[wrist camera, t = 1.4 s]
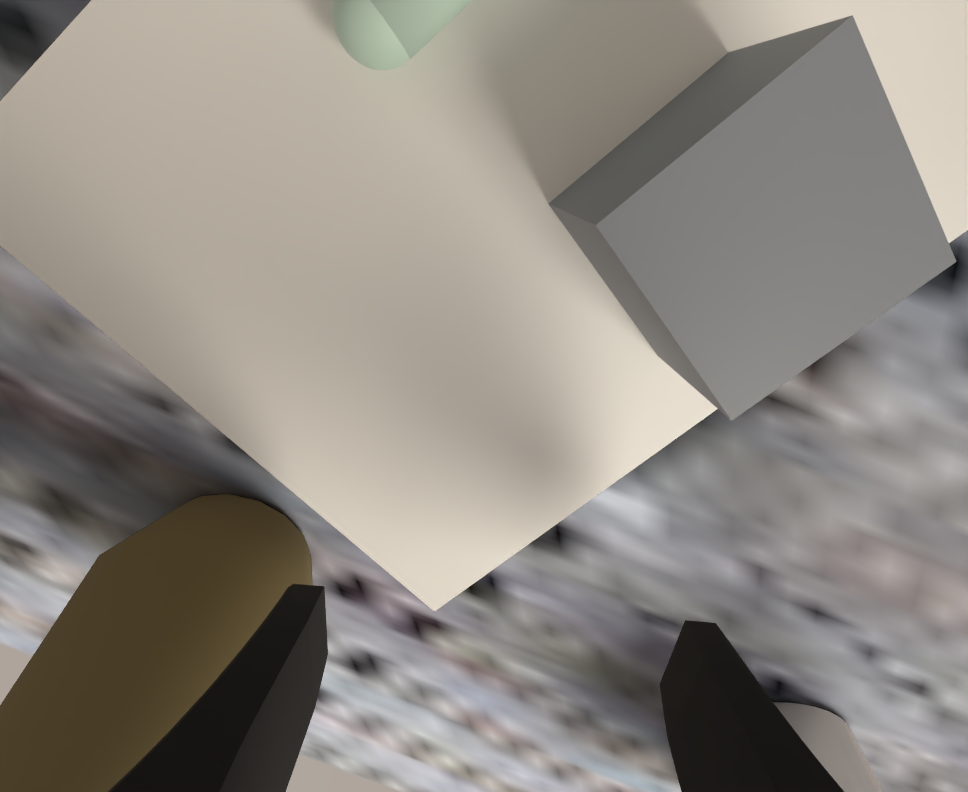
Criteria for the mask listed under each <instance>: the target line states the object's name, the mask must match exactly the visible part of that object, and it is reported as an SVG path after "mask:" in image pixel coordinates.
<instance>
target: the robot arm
mask: <svg viewBox="0 0 968 792" xmlns="http://www.w3.org/2000/svg"><path fill="white" fill-rule="evenodd" d="M327 655H328V648H327V629H326V610H325V591H324V586H313V585H303V584H292V585H291V586H289V587H288V588H287V589H286V591H285V592H284V594H283V595H282V597H281V598H280V599H279V601H278V602H277V604H276V605H275V606H274V608H273V609H272V610H271V612H270V613H269V614H268V616H267V617H266V618H265V620H264V621H263V622H262V624H261V625H260V626H259V628H258V629H257V630H256V631H255V633H254V634H253V635H252V637H251V638H250V639H249V640H248V642H247V643H246V644H245V645H244V647H243V648H242V649H241V650H240V652H239V653H238V654H237V655H236V656H235V657H234V659H233V660H232V661H231V662H230V663H229V665H228V666H227V667H226V668H225V669H224V671H223V672H222V673H221V674H220V675H219V677H218V678H217V679H216V680H215V681H214V683H213V684H212V685H211V686H210V687H209V688H208V689H207V691H206V692H205V693H204V694H203V695H202V696H201V697H200V698H199V699H198V700H197V701H196V703H195V704H194V705H193V706H192V707H191V708H190V709H189V710H188V711H187V712H186V714H185V715H184V716H183V717H182V718H181V719H180V720H179V721H178V722H177V723H176V724H175V726H174V727H173V728H172V729H171V730H170V731H169V732H168V733H167V734H166V735H165V736H164V737H163V738H162V739H161V740H160V741H159V742H158V743H157V744H156V745H155V746H154V747H153V748H152V749H151V750H150V751H149V752H148V753H147V754H146V755H145V756H144V757H143V758H142V759H141V760H140V761H139V762H138V763H137V764H136V765H135V766H134V767H133V768H132V769H131V770H130V771H129V772H128V773H127V774H126V775H125V776H124V777H123V778H122V779H121V780H120V781H119V782H118V783H116V784H115V785H114V786H113V787H112V788H111V789H110V790H109V791H108V792H286V789H287V786H288V783H289V780H290V777H291V775H292V771H293V769H294V766H295V763H296V760H297V758H298V755H299V752H300V749H301V746H302V743H303V740H304V738H305V735H306V732H307V729H308V726H309V723H310V720H311V717H312V715H313V712H314V709H315V705H316V701H317V697H318V693H319V689H320V685H321V681H322V677H323V672H324V668H325V664H326V660H327ZM660 689H661V697H662V704H663V711H664V717H665V724H666V730H667V736H668V741H669V745H670V749H671V753H672V757H673V760H674V764H675V768H676V772H677V776H678V780H679V783H680V787H681V791H682V792H844V791H843V789H842V788H841V787H840V786H839V785H838V783H837V782H836V781H835V780H834V779H833V777H832V776H831V775H830V774H829V773H828V771H827V770H826V769H825V768H824V767H823V765H822V764H821V763H820V762H819V761H818V759H817V758H816V757H815V756H814V754H813V753H812V752H811V751H810V749H809V748H808V747H807V746H806V744H805V743H804V742H803V740H802V739H801V738H800V737H799V735H798V734H797V733H796V731H795V730H794V729H793V727H792V726H791V725H790V724H789V722H788V721H787V720H786V718H785V717H784V716H783V715H782V713H781V712H780V711H779V709H778V708H777V707H776V705H775V704H774V703H773V701H772V700H771V699H770V697H769V696H768V695H767V693H766V692H765V691H764V689H763V688H762V686H761V685H760V684H759V682H758V681H757V680H756V678H755V677H754V675H753V674H752V673H751V671H750V670H749V669H748V667H747V666H746V664H745V663H744V662H743V660H742V659H741V657H740V656H739V655H738V653H737V652H736V651H735V649H734V648H733V646H732V645H731V644H730V642H729V641H728V639H727V638H726V637H725V635H724V634H723V632H722V631H721V630H720V628H719V627H718V626H717V624H716V623H708V622H698V621H687V620H685V622H684V625H683V627H682V630H681V632H680V635H679V637H678V640H677V642H676V645H675V647H674V650H673V652H672V655H671V657H670V660H669V662H668V665H667V667H666V670H665V672H664V675H663V677H662V680H661V682H660Z"/></svg>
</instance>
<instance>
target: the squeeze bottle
mask: <svg viewBox="0 0 968 792" xmlns="http://www.w3.org/2000/svg"><path fill="white" fill-rule="evenodd" d="M292 584H303V585H312V560H311V554H310V552H309V549H308V546H307V543H306V540H305V538H304V535H303V534H302V533H301V532H300V531H299V530H298V529H297V528H296V527H295V526H294V525H293V523H292V522H291V521H290V520H289V519H288V518H287V517H286V516H285V515H283V514H281V513H279V512H278V511H276V510H274V509H272V508H270V507H269V506H267V505H265V504H263V503H261V502H260V501H256V500H252V499H248V498H243V497H239V496H235V495H230V494H223V495H210V496H200V497H197V498H195V499H193V500H191V501H189V502H187V503H185V504H183V505H181V506H179V507H177V508H176V509H174V510H172V511H171V512H169V513H168V514H166V515H164V516H163V517H161V518H159V519H158V520H156V521H155V522H153V523H151V524H150V525H148V526H146V527H145V528H143V529H142V530H140V531H138V532H137V533H135V534H133V535H132V536H130V537H128V538H127V539H125V540H124V541H122V542H120V543H119V544H117V545H115V546H114V547H112V548H111V549H109V550H107V551H106V552H104V553H102V554H101V555H99V557H98V558H97V560H96V561H95V563H94V564H93V566H92V567H91V569H90V570H89V572H88V573H87V575H86V576H85V578H84V579H83V581H82V582H81V584H80V585H79V587H78V588H77V590H76V591H75V593H74V594H73V596H72V597H71V599H70V601H69V602H68V604H67V605H66V607H65V608H64V610H63V611H62V613H61V614H60V616H59V617H58V619H57V620H56V622H55V623H54V625H53V626H52V628H51V629H50V631H49V632H48V634H47V635H46V637H45V638H44V640H43V641H42V643H41V644H40V646H39V648H38V649H37V651H36V652H35V654H34V655H33V657H32V658H31V660H30V661H29V663H28V664H27V666H26V667H25V669H24V670H23V672H22V673H21V675H20V676H19V678H18V679H17V681H16V682H15V684H14V685H13V687H12V689H11V690H10V692H9V693H8V695H7V696H6V698H5V699H4V701H3V702H2V704H1V705H0V792H108V791H109V790H110V789H111V788H112V787H113V786H114V785H115V784H116V783H118V782H119V781H120V780H121V779H122V778H123V777H124V776H125V775H126V774H127V773H128V772H129V771H130V770H131V769H132V768H133V767H134V766H135V765H136V764H137V763H138V762H139V761H140V760H141V759H142V758H143V757H144V756H145V755H146V754H147V753H148V752H149V751H150V750H151V749H152V748H153V747H154V746H155V745H156V744H157V743H158V742H159V741H160V740H161V739H162V738H163V737H164V736H165V735H166V734H167V733H168V732H169V731H170V730H171V729H172V728H173V727H174V726H175V724H176V723H177V722H178V721H179V720H180V719H181V718H182V717H183V716H184V715H185V714H186V712H187V711H188V710H189V709H190V708H191V707H192V706H193V705H194V704H195V703H196V701H197V700H198V699H199V698H200V697H201V696H202V695H203V694H204V693H205V692H206V691H207V689H208V688H209V687H210V686H211V685H212V684H213V683H214V681H215V680H216V679H217V678H218V677H219V675H220V674H221V673H222V672H223V671H224V669H225V668H226V667H227V666H228V665H229V663H230V662H231V661H232V660H233V659H234V657H235V656H236V655H237V654H238V653H239V652H240V650H241V649H242V648H243V647H244V645H245V644H246V643H247V642H248V640H249V639H250V638H251V637H252V635H253V634H254V633H255V631H256V630H257V629H258V628H259V626H260V625H261V624H262V622H263V621H264V620H265V618H266V617H267V616H268V614H269V613H270V612H271V610H272V609H273V608H274V606H275V605H276V604H277V602H278V601H279V599H280V598H281V597H282V595H283V594H284V592H285V591H286V589H287V588H288V587H289V586H291V585H292Z"/></svg>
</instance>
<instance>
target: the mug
mask: <svg viewBox="0 0 968 792" xmlns="http://www.w3.org/2000/svg"><path fill="white" fill-rule="evenodd" d="M773 703H774V704H775V705H776V707H777V708H778V709H779V711H780V712H781V713H782V715H783V716H784V717H785V718H786V720H787V721H788V722H789V724H790V725H791V726H792V727H793V729H794V730H795V731H796V733H797V734H798V735H799V737H800V738H801V739H802V740H803V742H804V743H805V744H806V746H807V747H808V748H809V749H810V751H811V752H812V753H813V754H814V756H815V757H816V758H817V759H818V761H819V762H820V763H821V764H822V765H823V767H824V768H825V769H826V770H827V771H828V773H829V774H830V775H831V776H832V777H833V779H834V780H835V781H836V782H837V783H838V785H839V786H840V787H841V788H842V789H843V791H844V792H883V790H882V788H881V786H880V784H879V782H878V780H877V778H876V776H875V774H874V772H873V770H872V768H871V766H870V765H869V763H868V761H867V759H866V757H865V755H864V753H863V751H862V749H861V747H860V745H859V743H858V741H857V739H856V738H855V736H854V734H853V732H852V730H851V729H850V727H849V725H848V724H847V723H846V722H844V721H843V720H842V719H841V718H840V717H838V716H836V715H835V714H833V713H831V712H829V711H826V710H823V709H820V708H817V707H814V706H809V705H803V704H797V703H788V702H773Z"/></svg>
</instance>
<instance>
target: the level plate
mask: <svg viewBox="0 0 968 792" xmlns="http://www.w3.org/2000/svg"><path fill="white" fill-rule="evenodd" d="M967 230H968V0H91V1H90V2H89V3H88V5H87V6H86V7H85V8H84V9H83V10H82V11H81V12H80V13H79V15H78V16H77V17H76V18H75V19H74V20H73V21H72V22H71V23H70V25H69V26H68V27H67V28H66V29H65V30H64V31H63V32H62V33H61V35H60V36H59V37H58V38H57V39H56V40H55V41H54V42H53V43H52V44H51V46H50V47H49V48H48V49H47V50H46V51H45V52H44V53H43V54H42V56H41V57H40V58H39V59H38V60H37V61H36V62H35V63H34V64H33V66H32V67H31V68H30V69H29V70H28V71H27V72H26V73H25V74H24V76H23V77H22V78H21V79H20V80H19V81H18V82H17V83H16V84H15V86H14V87H13V88H12V89H11V90H10V91H9V92H8V93H7V94H6V96H5V97H4V98H3V99H2V100H1V101H0V246H1V247H2V248H4V249H5V250H6V251H7V252H8V253H10V254H11V255H12V256H13V257H14V258H16V259H17V260H18V261H19V262H20V263H21V264H23V265H24V266H25V267H26V268H27V269H29V270H30V271H31V272H32V273H33V274H35V275H36V276H37V277H38V278H39V279H40V280H42V281H43V282H44V283H45V284H46V285H48V286H49V287H50V288H51V289H52V290H54V291H55V292H56V293H57V294H58V295H59V296H61V297H62V298H63V299H64V300H65V301H67V302H68V303H69V304H70V305H71V306H73V307H74V308H75V309H76V310H77V311H78V312H80V313H81V314H82V315H83V316H84V317H86V318H87V319H88V320H89V321H90V322H92V323H93V324H94V325H95V326H96V327H97V328H99V329H100V330H101V331H102V332H103V333H105V334H106V335H107V336H108V337H109V338H111V339H112V340H113V341H114V342H115V343H116V344H118V345H119V346H120V347H121V348H122V349H124V350H125V351H126V352H127V353H128V354H130V355H131V356H132V357H133V358H134V359H135V360H137V361H138V362H139V363H140V364H141V365H143V366H144V367H145V368H146V369H147V370H148V371H150V372H151V373H152V374H153V375H154V376H156V377H157V378H158V379H159V380H160V381H162V382H163V383H164V384H165V385H166V386H167V387H169V388H170V389H171V390H172V391H173V392H175V393H176V394H177V395H178V396H179V397H181V398H182V399H183V400H184V401H185V402H186V403H188V404H189V405H190V406H191V407H192V408H194V409H195V410H196V411H197V412H198V413H200V414H201V415H202V416H203V417H204V418H205V419H207V420H208V421H209V422H210V423H211V424H213V425H214V426H215V427H216V428H217V429H219V430H220V431H221V432H222V433H223V434H224V435H226V436H227V437H228V438H229V439H230V440H232V441H233V442H234V443H235V444H236V445H238V446H239V447H240V448H241V449H242V450H243V451H245V452H246V453H247V454H248V455H249V456H251V457H252V458H253V459H254V460H255V461H257V462H258V463H259V464H260V465H261V466H262V467H264V468H265V469H266V470H267V471H268V472H270V473H271V474H272V475H273V476H274V477H276V478H277V479H278V480H279V481H280V482H281V483H283V484H284V485H285V486H286V487H287V488H289V489H290V490H291V491H292V492H293V493H294V494H296V495H297V496H298V497H299V498H300V499H302V500H303V501H304V502H305V503H306V504H308V505H309V506H310V507H311V508H312V509H313V510H315V511H316V512H317V513H318V514H319V515H321V516H322V517H323V518H324V519H325V520H327V521H328V522H329V523H330V524H331V525H332V526H334V527H335V528H336V529H337V530H338V531H340V532H341V533H342V534H343V535H344V536H346V537H347V538H348V539H349V540H350V541H351V542H353V543H354V544H355V545H356V546H357V547H359V548H360V549H361V550H362V551H363V552H365V553H366V554H367V555H368V556H369V557H370V558H372V559H373V560H374V561H375V562H376V563H378V564H379V565H380V566H381V567H382V568H384V569H385V570H386V571H387V572H388V573H389V574H391V575H392V576H393V577H394V578H395V579H397V580H398V581H399V582H400V583H401V584H403V585H404V586H405V587H406V588H407V589H408V590H410V591H411V592H412V593H413V594H414V595H416V596H417V597H418V598H419V599H420V600H422V601H423V602H424V603H425V604H426V605H427V606H429V607H430V608H431V609H432V610H433V611H436V610H437V609H439V608H440V607H441V606H443V605H444V604H446V603H447V602H448V601H450V600H451V599H453V598H454V597H455V596H457V595H458V594H460V593H461V592H462V591H464V590H465V589H467V588H468V587H469V586H471V585H472V584H474V583H475V582H476V581H478V580H479V579H480V578H482V577H483V576H485V575H486V574H487V573H489V572H490V571H492V570H493V569H494V568H496V567H497V566H499V565H500V564H501V563H503V562H504V561H506V560H507V559H508V558H510V557H511V556H513V555H514V554H515V553H517V552H518V551H520V550H521V549H522V548H524V547H525V546H527V545H528V544H529V543H531V542H532V541H534V540H535V539H536V538H538V537H539V536H541V535H542V534H543V533H545V532H546V531H548V530H549V529H550V528H552V527H553V526H555V525H556V524H557V523H559V522H560V521H562V520H563V519H564V518H566V517H567V516H569V515H570V514H571V513H573V512H574V511H575V510H577V509H578V508H580V507H581V506H582V505H584V504H585V503H587V502H588V501H589V500H591V499H592V498H594V497H595V496H596V495H598V494H599V493H601V492H602V491H603V490H605V489H606V488H608V487H609V486H610V485H612V484H613V483H615V482H616V481H617V480H619V479H620V478H622V477H623V476H624V475H626V474H627V473H629V472H630V471H631V470H633V469H634V468H636V467H637V466H638V465H640V464H641V463H643V462H644V461H645V460H647V459H648V458H650V457H651V456H652V455H654V454H655V453H657V452H658V451H659V450H661V449H662V448H664V447H665V446H666V445H668V444H669V443H670V442H672V441H673V440H675V439H676V438H677V437H679V436H680V435H682V434H683V433H684V432H686V431H687V430H689V429H690V428H691V427H693V426H694V425H696V424H697V423H698V422H700V421H701V420H703V419H704V418H705V417H707V416H708V415H710V414H711V413H712V412H714V411H715V410H717V409H719V410H720V411H721V412H722V413H723V414H724V415H726V416H727V417H728V418H729V419H730V420H731V421H732V420H733V419H735V418H736V417H738V416H739V415H740V414H742V413H743V412H745V411H746V410H747V409H749V408H750V407H752V406H753V405H755V404H756V403H757V402H759V401H760V400H762V399H763V398H764V397H766V396H767V395H769V394H770V393H771V392H773V391H774V390H776V389H777V388H779V387H780V386H781V385H783V384H784V383H786V382H787V381H788V380H790V379H791V378H793V377H794V376H795V375H797V374H798V373H800V372H801V371H803V370H804V369H805V368H807V367H808V366H810V365H811V364H812V363H814V362H815V361H817V360H818V359H819V358H821V357H822V356H824V355H825V354H827V353H828V352H829V351H831V350H832V349H834V348H835V347H836V346H838V345H839V344H841V343H842V342H844V341H845V340H846V339H848V338H849V337H851V336H852V335H853V334H855V333H856V332H858V331H859V330H860V329H862V328H863V327H865V326H866V325H868V324H869V323H870V322H872V321H873V320H875V319H876V318H877V317H879V316H880V315H882V314H883V313H884V312H886V311H887V310H889V309H890V308H892V307H893V306H894V305H896V304H897V303H899V302H900V301H901V300H903V299H904V298H906V297H907V296H908V295H910V294H911V293H913V292H914V291H916V290H917V289H918V288H920V287H921V286H923V285H924V284H925V283H927V282H928V281H930V280H931V279H932V278H934V277H935V276H937V275H938V274H940V273H941V272H942V271H944V270H945V269H947V268H948V267H949V266H951V265H952V264H954V263H955V262H956V259H955V257H954V255H953V252H952V250H951V248H950V245H949V243H950V242H951V241H953V240H954V239H956V238H957V237H958V236H960V235H961V234H962V233H964V232H965V231H967Z"/></svg>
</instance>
